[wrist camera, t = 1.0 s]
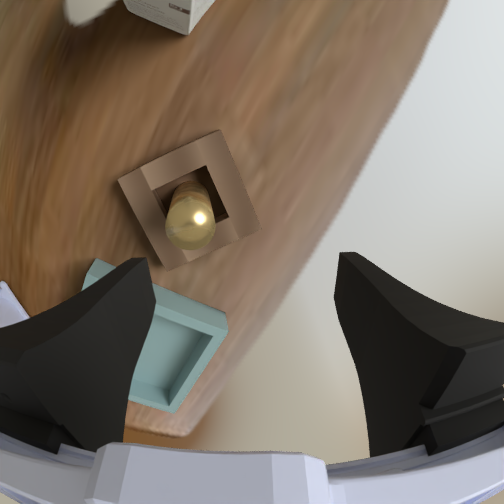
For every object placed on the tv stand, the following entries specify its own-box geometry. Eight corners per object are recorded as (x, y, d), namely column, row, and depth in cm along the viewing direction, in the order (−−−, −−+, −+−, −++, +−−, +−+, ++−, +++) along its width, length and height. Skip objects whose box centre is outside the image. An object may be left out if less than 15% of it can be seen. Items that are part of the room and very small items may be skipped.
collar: (168, 263, 26) (167, 271, 25) (121, 176, 23) (117, 179, 21) (258, 223, 26) (262, 229, 25) (218, 129, 23) (220, 129, 21)
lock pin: (182, 223, 25) (179, 258, 19) (166, 190, 24) (156, 215, 17) (215, 207, 25) (223, 238, 19) (200, 175, 24) (202, 193, 18)
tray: (174, 394, 33) (174, 413, 30) (68, 355, 28) (61, 373, 25) (225, 312, 29) (228, 331, 26) (96, 257, 25) (86, 273, 22)
